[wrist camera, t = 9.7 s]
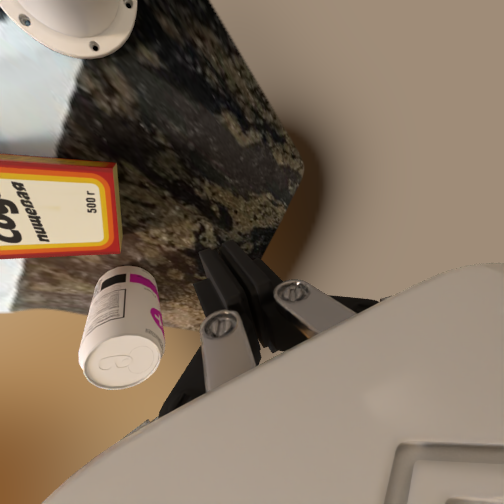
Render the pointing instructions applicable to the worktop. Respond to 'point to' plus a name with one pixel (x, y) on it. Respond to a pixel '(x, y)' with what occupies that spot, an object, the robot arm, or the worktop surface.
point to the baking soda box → (58, 207)
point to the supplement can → (122, 330)
